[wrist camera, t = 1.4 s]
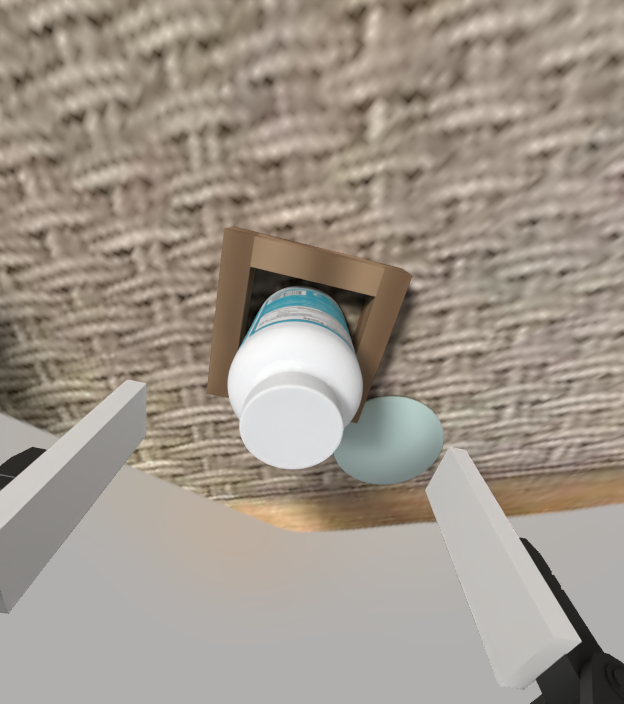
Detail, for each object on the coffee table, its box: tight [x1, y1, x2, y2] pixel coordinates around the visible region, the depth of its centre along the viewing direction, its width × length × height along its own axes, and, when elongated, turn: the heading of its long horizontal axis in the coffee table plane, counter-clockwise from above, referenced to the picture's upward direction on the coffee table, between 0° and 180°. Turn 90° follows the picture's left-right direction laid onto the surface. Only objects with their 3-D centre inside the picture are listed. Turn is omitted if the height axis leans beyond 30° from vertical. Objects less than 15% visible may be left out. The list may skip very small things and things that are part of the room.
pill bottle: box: [228, 286, 363, 469], centre depth 20 cm, size 8×7×14 cm
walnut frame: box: [207, 227, 412, 423], centre depth 25 cm, size 13×13×3 cm
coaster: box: [333, 396, 444, 485], centre depth 31 cm, size 11×11×1 cm
